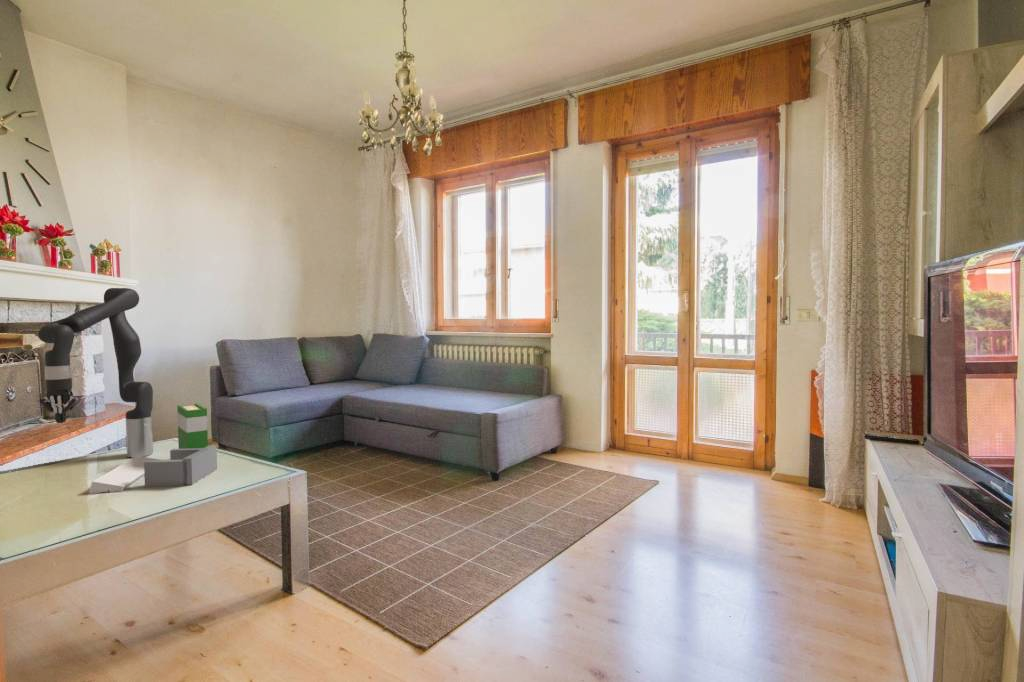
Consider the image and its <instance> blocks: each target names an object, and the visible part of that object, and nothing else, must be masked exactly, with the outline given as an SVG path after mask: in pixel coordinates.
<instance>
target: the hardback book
mask: <svg viewBox="0 0 1024 682" xmlns="http://www.w3.org/2000/svg"><path fill="white" fill-rule="evenodd" d="M176 408H177V410H176V411H177V436H178V439H177V440H178V449H187V448H205V447H207V446H209V443H208V442H209V441H208V440H209V438H208V437H209V436H208V409H207V408H206V407H204V406H203V405H200V404H199V403H194V404H193V405H186V406H182V405H181V404H178V405H177V407H176Z"/></svg>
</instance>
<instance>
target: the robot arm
mask: <svg viewBox="0 0 1024 682" xmlns="http://www.w3.org/2000/svg"><path fill="white" fill-rule="evenodd" d="M139 302H140V296H139V293H138V292H137V291H136V290H135V289H133V288H129V287H110V288H108V289H106V290H105V292H104V294H103V302H102V303H99V304H95V305H92V306H89V307H85V308H83V309H80V310H78V311H76V312H75V313H72V314H71V315H69V316H67V317H64V318H62V319H57V320H54V321H51V322H50V323H47V324H45V325H43V326H41V328H40V329H39V331H38V333H37V336H38V339H39V340H40V341H41V342H43V343H46V344H53V346H52V349H50V350H47V351H46V352H44V364H45V366H44V368H45V369H44V383H45V384H44V385H45V391H46V393H45V396H44V397H43V398H40V399H39V403H40V404H41V405H42V406H43V408H44V409H46V410H47V412H49V413H53V414H54V418H55V422H56V424H63V423H66V421H67V412H70V411H73V409H74V407H75V406H76V405H77V404H78V402H79V401H80V397H76V396H74V393H73V391H72V389H73V377H72V376H73V375H72V367H71V356H70V355H71V351H72V349H73V344H74V341H75V334H77V333H81V332H84V331H85V330H87V329H89V328H90V327H92V326H95V325H96V324H98V323H100V322H102V321H104V320H106V319H108V320H109V325H110V329H111V334H112V339H113V349H114V354H115V358H116V365H117V372H118V373H117V374H118V390H119V397H120V398H121V400H122V401H123V402H124V403H135V407H134V408H133V409H131V410H128V411H126V412H125V436H126V439H125V440H126V457H127V458H129V457H131V458H130V459H132V458H134V457H136V456H141V457H148V456H150V455H152V454H153V453H154V441H153V439H154V438H153V437H154V436H153V431H152V411H153V408H154V407H153V402H154V401H153V399H154V390H153V386H152V384H151V383H150V382H148V381H135V377H134V369H135V367H136V365H137V363H138V362H139V360H140V358H141V355H142V347H141V346H142V345H141V342H140V341H141V340H140V337H139V335H138V333H137V332H136V330H135V329H134V328H133V327H132V325H131V324H130V323H129V321H128V319H127V315H126V311H129V310H132V309H134V308H136V307H137V306H138V305H139Z"/></svg>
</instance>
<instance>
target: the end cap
mask: <svg viewBox="0 0 1024 682" xmlns="http://www.w3.org/2000/svg"><path fill="white" fill-rule="evenodd" d="M217 450H218V449H217V445H215V444H214V445H213V444H212V445H208V446H207V447H205V448H187V449H179V448H172V449H170V450H169V455H170V456H169V457H170V459H159V460H148V461H146V462H144V475H145V476H144V487H169V486H170V487H171V486H175V485H177V486H192V485H191V484H193V485H194V483H195V482H196V483H198V482H199V481H198V480H200V479H201V478H203V477H204V478H206V477H207V476H206V475H208V474H209V475H211V474H212V473H214V472H215V471H214V470H216V469H217V470H218V456H217V455H218V453H217V452H218V451H217ZM217 470H216V471H217ZM213 471H214V472H213ZM211 472H212V473H211ZM210 473H211V474H210ZM209 475H208V476H209ZM205 476H206V477H205ZM204 478H203V479H204ZM201 480H202V479H201ZM201 480H200V481H201ZM197 481H198V482H197ZM196 483H195V484H196ZM175 487H176V486H175Z"/></svg>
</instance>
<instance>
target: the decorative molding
mask: <svg viewBox="0 0 1024 682" xmlns="http://www.w3.org/2000/svg"><path fill="white" fill-rule="evenodd" d="M148 460H160V459H157V458H152V457H148V456H143V457H141V456H136V457H134V458H130V459H129V460H127V461H125V462H124V463H122V464H120V465H118V466H117V467H115V468H113V469H111V470H110V471H108V472H106V473H105V474H103V475H101V476H99V477H98V478H96V479H94V480H92V481H91V485H90V488H89V493H88V494H90V495H91V494H92V495H93V494H100V493H108V492H109V493H116V492H123V491H124V490H126V489H127V488H129V487H130V486H132V485H133V484H135V483H136V482H137V481H139V480H140V478H141V479H142V478H143V477H145V475H144V462H146V461H148Z"/></svg>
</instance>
